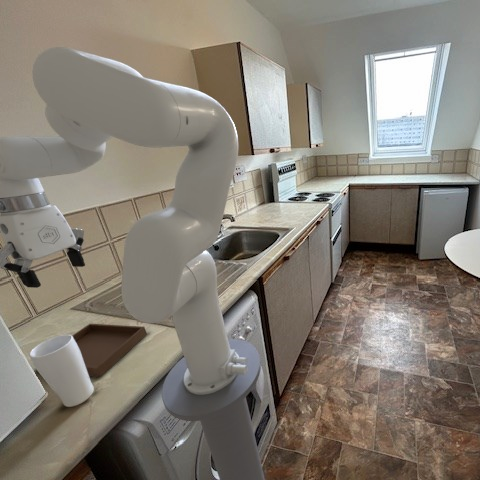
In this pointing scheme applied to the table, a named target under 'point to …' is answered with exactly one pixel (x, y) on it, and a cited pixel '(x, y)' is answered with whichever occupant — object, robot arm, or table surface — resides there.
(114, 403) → the table surface
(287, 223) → the table surface
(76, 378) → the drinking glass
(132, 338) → the tray
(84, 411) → the table surface
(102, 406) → the table surface
